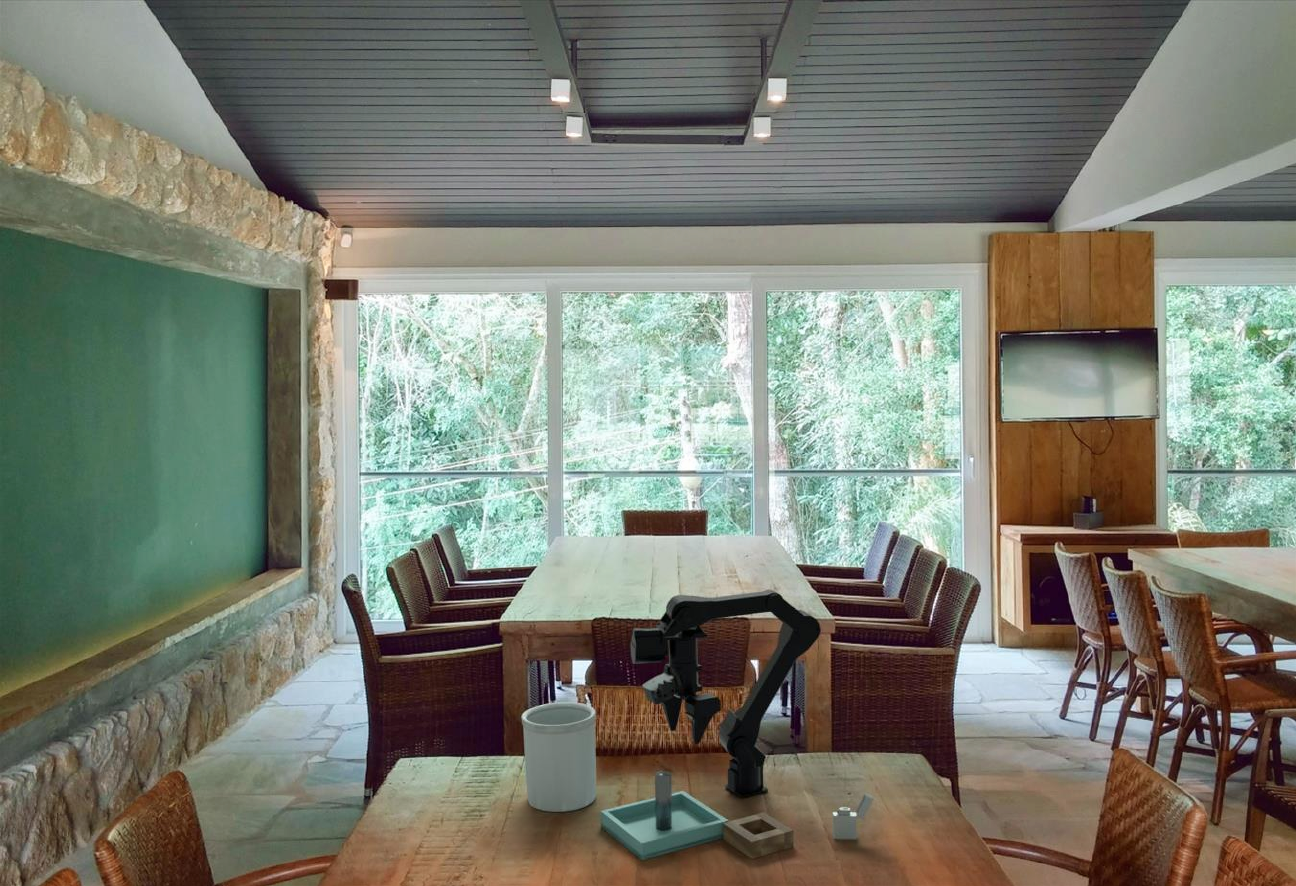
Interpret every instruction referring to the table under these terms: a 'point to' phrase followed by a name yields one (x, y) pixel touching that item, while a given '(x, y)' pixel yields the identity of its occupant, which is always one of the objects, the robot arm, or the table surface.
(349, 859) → the table surface
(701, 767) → the table surface
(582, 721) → the utensil holder
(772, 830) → the pin holder
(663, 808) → the pin
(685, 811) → the tray
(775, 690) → the robot arm
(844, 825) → the lighter
